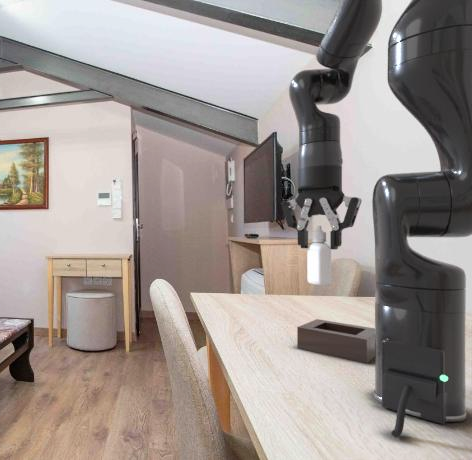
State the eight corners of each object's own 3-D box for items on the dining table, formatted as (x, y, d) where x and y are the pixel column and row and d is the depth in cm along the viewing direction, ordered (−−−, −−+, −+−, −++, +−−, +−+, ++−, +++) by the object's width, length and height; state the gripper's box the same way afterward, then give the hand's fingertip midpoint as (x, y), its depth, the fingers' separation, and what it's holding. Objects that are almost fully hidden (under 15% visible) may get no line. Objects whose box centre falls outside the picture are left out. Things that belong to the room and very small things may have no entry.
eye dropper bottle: (304, 284, 78) (304, 225, 78) (308, 281, 82) (308, 226, 82) (330, 286, 75) (330, 225, 75) (333, 283, 79) (333, 225, 79)
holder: (366, 363, 71) (366, 339, 71) (297, 348, 80) (297, 327, 80) (382, 351, 78) (382, 329, 78) (316, 338, 87) (316, 319, 87)
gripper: (274, 169, 82) (274, 248, 82) (357, 159, 71) (357, 250, 71) (288, 172, 87) (288, 247, 87) (367, 163, 75) (367, 249, 75)
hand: (319, 248), depth 79 cm, fingers closed on eye dropper bottle, 4 cm apart
